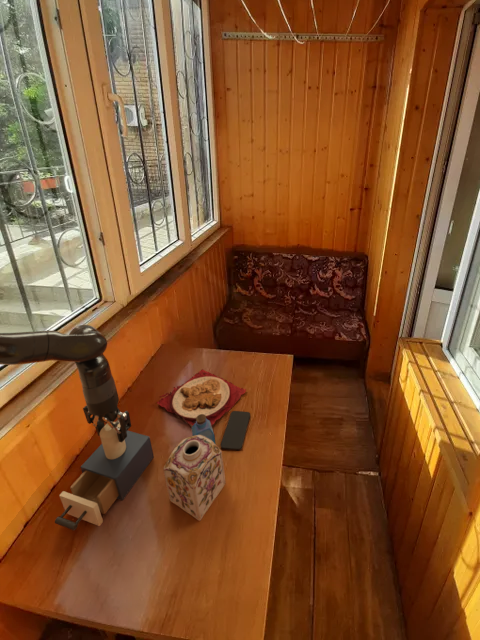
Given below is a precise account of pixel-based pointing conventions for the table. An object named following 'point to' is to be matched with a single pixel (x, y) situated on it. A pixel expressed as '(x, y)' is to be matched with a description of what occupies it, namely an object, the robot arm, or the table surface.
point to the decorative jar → (194, 475)
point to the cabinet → (123, 462)
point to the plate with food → (202, 398)
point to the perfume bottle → (203, 428)
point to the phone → (235, 430)
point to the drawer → (88, 499)
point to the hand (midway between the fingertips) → (112, 436)
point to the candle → (111, 442)
